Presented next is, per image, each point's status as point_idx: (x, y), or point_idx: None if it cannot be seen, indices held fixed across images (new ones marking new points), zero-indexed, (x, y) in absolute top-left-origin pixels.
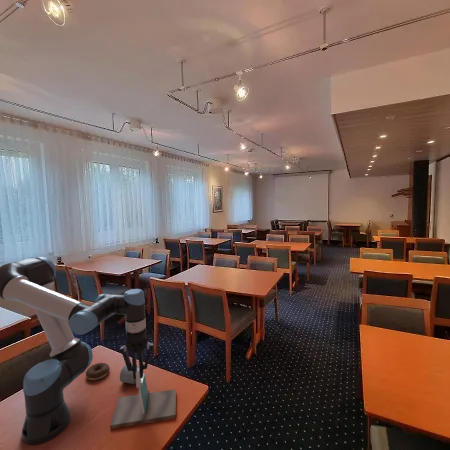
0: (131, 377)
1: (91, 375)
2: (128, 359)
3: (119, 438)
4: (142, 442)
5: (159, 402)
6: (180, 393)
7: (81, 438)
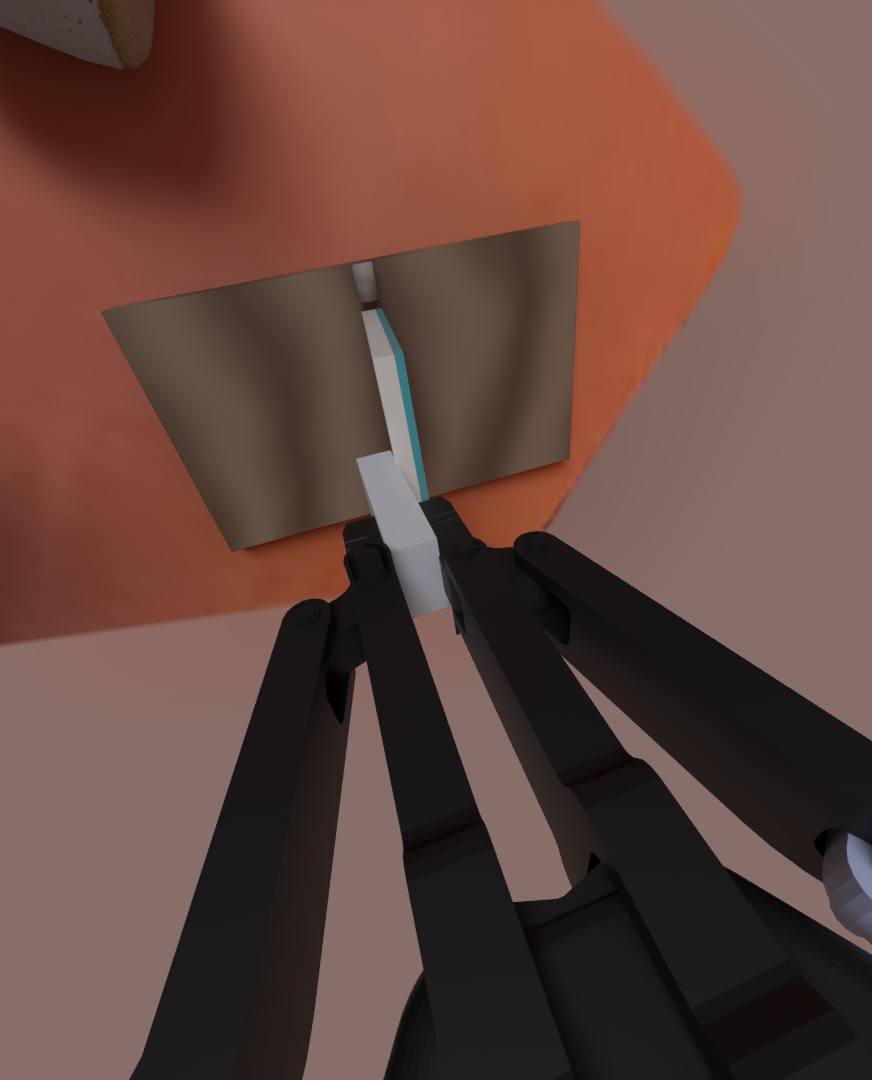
0: (65, 34)
1: None
2: (324, 811)
3: (316, 573)
4: None
5: (473, 371)
6: (594, 239)
7: (104, 600)
